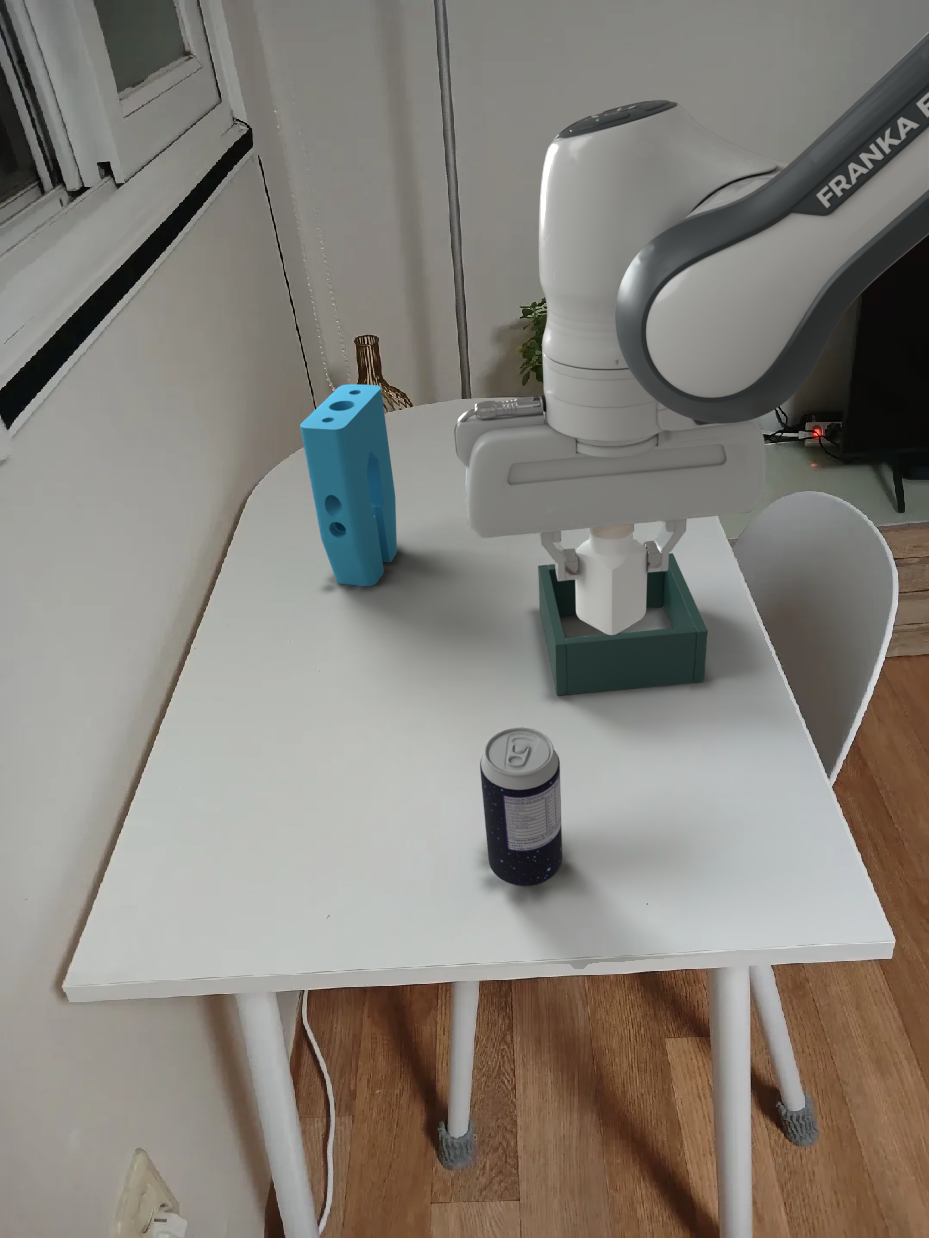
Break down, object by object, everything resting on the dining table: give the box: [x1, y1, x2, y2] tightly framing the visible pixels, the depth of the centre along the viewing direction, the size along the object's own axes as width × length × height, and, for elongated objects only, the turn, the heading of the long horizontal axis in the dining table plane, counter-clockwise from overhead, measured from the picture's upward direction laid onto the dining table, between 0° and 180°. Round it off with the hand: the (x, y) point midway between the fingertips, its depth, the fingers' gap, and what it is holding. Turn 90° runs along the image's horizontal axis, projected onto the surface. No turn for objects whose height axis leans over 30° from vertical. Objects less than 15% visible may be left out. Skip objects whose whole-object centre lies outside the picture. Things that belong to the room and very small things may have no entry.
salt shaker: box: [575, 524, 647, 635], centre depth 69 cm, size 4×4×10 cm
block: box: [299, 383, 398, 587], centre depth 107 cm, size 12×5×20 cm, turn 164°
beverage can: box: [479, 727, 563, 887], centre depth 70 cm, size 6×6×12 cm
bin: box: [537, 552, 709, 697], centre depth 94 cm, size 14×14×6 cm
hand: (611, 572), depth 69 cm, fingers closed on salt shaker, 5 cm apart
